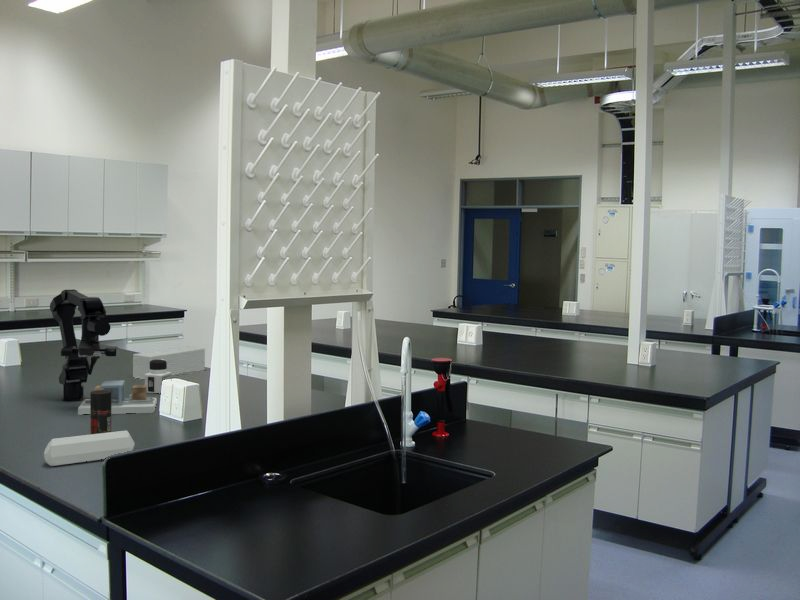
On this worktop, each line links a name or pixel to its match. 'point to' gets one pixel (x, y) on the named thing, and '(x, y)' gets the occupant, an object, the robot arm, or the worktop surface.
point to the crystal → (87, 447)
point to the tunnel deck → (120, 401)
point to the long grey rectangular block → (170, 360)
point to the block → (139, 392)
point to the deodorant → (100, 411)
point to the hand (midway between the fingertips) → (90, 374)
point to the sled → (126, 398)
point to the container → (156, 375)
